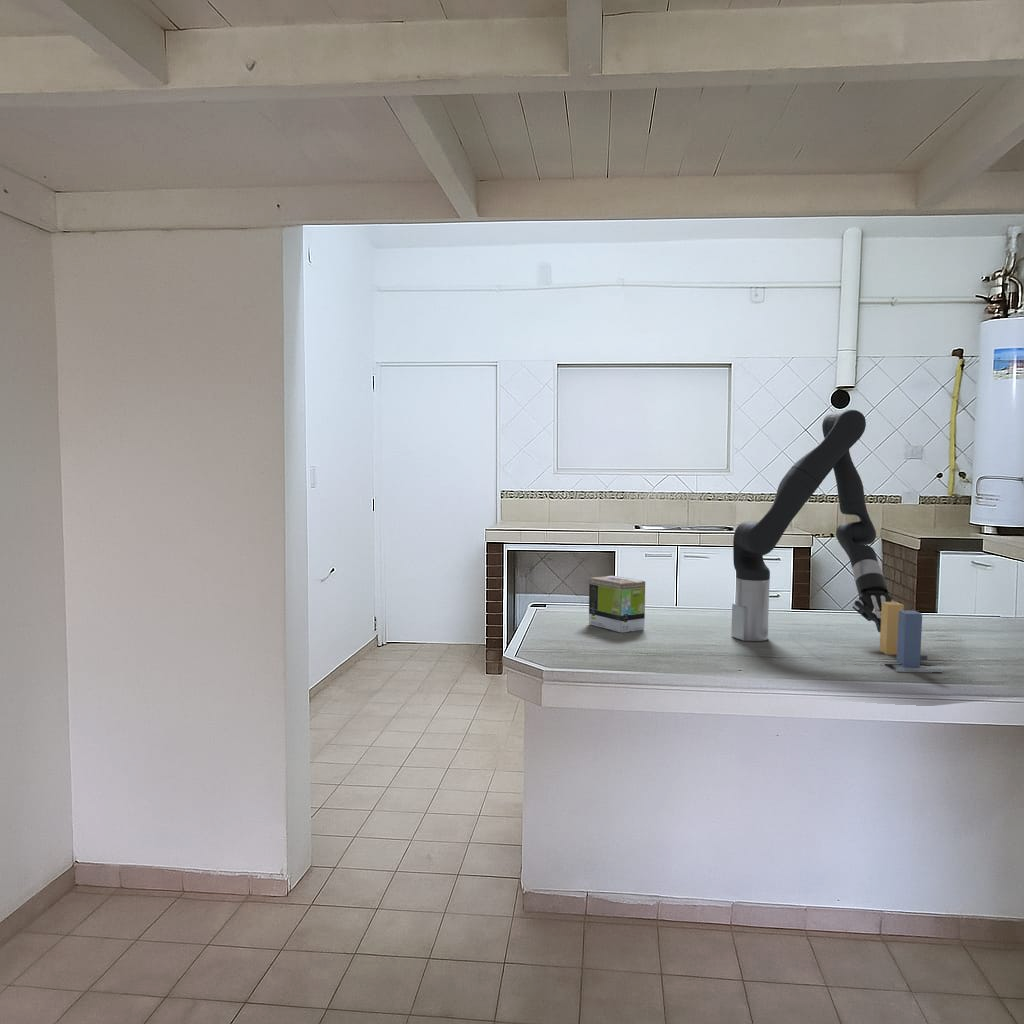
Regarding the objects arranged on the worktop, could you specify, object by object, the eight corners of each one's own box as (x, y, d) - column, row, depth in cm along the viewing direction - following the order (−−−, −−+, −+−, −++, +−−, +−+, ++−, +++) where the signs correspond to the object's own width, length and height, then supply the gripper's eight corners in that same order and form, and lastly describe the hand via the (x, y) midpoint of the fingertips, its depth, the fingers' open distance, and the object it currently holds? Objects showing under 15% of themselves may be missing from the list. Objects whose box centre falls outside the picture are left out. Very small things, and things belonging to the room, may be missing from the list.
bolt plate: (942, 672, 204) (942, 668, 204) (896, 671, 204) (896, 667, 204) (897, 647, 230) (897, 643, 230) (856, 646, 230) (856, 642, 230)
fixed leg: (929, 666, 206) (932, 614, 205) (903, 665, 206) (905, 613, 205) (922, 662, 210) (924, 610, 209) (896, 661, 210) (898, 610, 209)
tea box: (645, 629, 249) (646, 580, 248) (620, 633, 244) (621, 583, 242) (612, 621, 262) (613, 574, 261) (587, 624, 256) (588, 576, 255)
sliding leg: (911, 654, 216) (913, 605, 215) (885, 654, 217) (887, 604, 216) (904, 651, 220) (906, 602, 219) (879, 650, 221) (881, 601, 220)
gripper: (849, 571, 231) (863, 624, 219) (898, 572, 230) (915, 625, 219) (841, 587, 236) (855, 640, 225) (889, 588, 236) (905, 640, 224)
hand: (885, 632), depth 222 cm, fingers closed
